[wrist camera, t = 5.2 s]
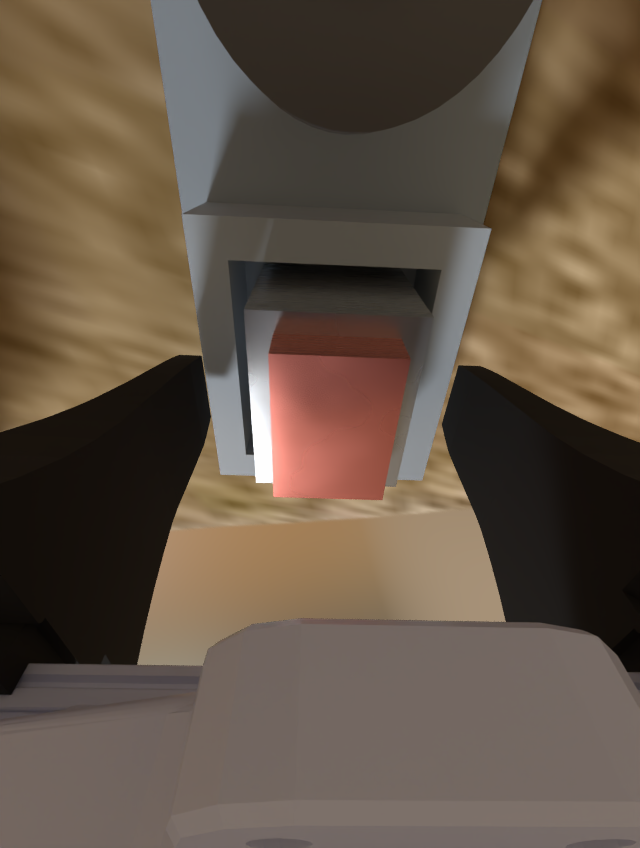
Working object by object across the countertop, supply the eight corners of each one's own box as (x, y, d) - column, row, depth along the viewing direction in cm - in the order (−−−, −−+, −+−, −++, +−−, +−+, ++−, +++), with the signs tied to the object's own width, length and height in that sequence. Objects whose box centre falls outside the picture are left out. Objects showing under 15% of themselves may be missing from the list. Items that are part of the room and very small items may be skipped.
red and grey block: (273, 391, 15) (250, 509, 10) (268, 254, 12) (235, 327, 7) (374, 395, 15) (402, 513, 10) (395, 260, 12) (447, 336, 7)
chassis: (222, 430, 18) (202, 488, 15) (131, -258, 8) (7, -525, 5) (417, 436, 18) (437, 494, 15) (577, -221, 8) (738, -453, 5)
